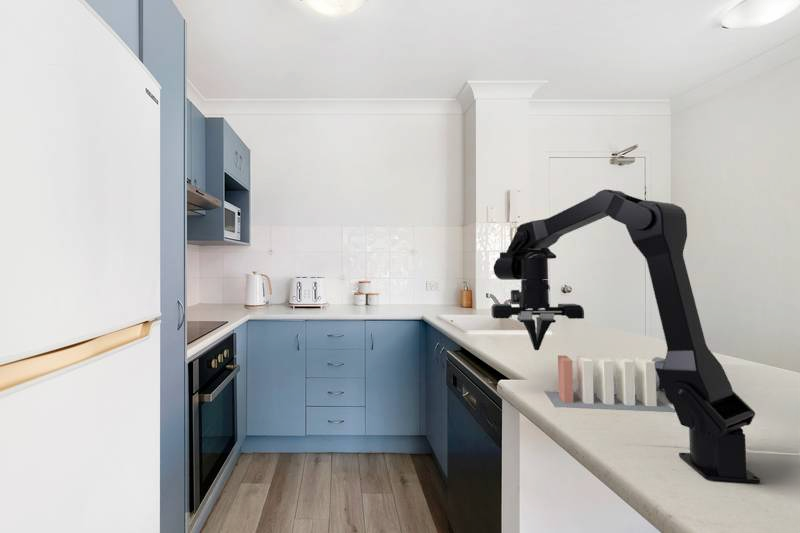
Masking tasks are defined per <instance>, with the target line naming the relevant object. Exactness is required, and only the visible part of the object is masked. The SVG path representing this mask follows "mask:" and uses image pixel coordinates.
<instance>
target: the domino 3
mask: <svg viewBox="0 0 800 533" xmlns="http://www.w3.org/2000/svg"><path fill="white" fill-rule="evenodd" d="M595 371H596V372H595V373H596V393H597V397H598V398H599V399H600V400H601V401H602V402H603V403H604V404H610V405H614V394H615V386H614V385H615V383H614V379H615V378H614V361H613V360H611V359H610V358H608V357H607V356H600V355H598V356H595Z"/></svg>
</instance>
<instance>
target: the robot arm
mask: <svg viewBox="0 0 800 533" xmlns="http://www.w3.org/2000/svg"><path fill="white" fill-rule="evenodd" d="M606 217H610V218H611V219H612V220H614V221H616V222H619V223H620V224H624V225H625V227H626V231H627V232H628V234H629V237H630V239H631V241H632V243H633V244H634V246H635V248H636V249H637V250H638V251H639V252H640V253H641V254H642V256H643V258H645V260H646V265H647V268H648V273H649V276H650V281H651V285H652V288H653V294H654V297H655V298H654V299H655V302H656V305H657V310H658V314H659V318H660V323H661V326H662V331H663V334H664V339H665V343H666V348H667V350H666V355H665V358H664V359H665V360H663V361H658V362H655V369H656V372H657V374H658V377H659V390H658V391H660V390H663V389H664V391H663V394H664V396H665V398H666V400H667V402H668V403H670V404H671V405H673V406H672V407H673V409H675V411H676V412H675V413H676V416H677V419H678V421H679V424H680V425H681V426H683V427H686V428H688V432H689V451H690V452H679V453H678V456H679V458H680V459H682V460H683V461H684V462H685V463H686V464H687V465H689V466H690V467H691V468H692V469H694V470H695V471H696V472H697V473H698V474H700V475H701V476H702V477H703V478H705V479H706V480H713V481H724V482H725V481H727V482H737V483H738V482H742V483H753V484H754V483H756V484H760V483H761V478H760V477H758V476H757V475H756V474H754V473H753V472H751V471H750V470H748V469H747V451H746V450H747V449H746V448H747V447H746V434H745V433H744V430H743V427H746V426H750V425H751V424H752V422H753V420H754V418H755V416H756V412H755V411H754V409H752V408H751V407H750V406H749V404H747V402H745V400H743V399H742V398H741V397H740V396H739V395H738V394H737V393H735V391H734V390H733V388H732V383H731V382H730V380H729V378H728V375H727V373H726V372H725V369H724V367H723V365H722V364H721V362H720V361H719V360H718V359H717V358H716V356H715V355H714V354H713V352H712V351H711V350H710V349H709V348H708V345H707V343H706V338H705V335H704V331H703V328H702V323H701V320H700V316H699V312H698V311H699V310H698V308H697V304H696V301H695V296H694V293H693V289H692V285H691V282H690V277H689V274H688V269H687V266H686V261H685V258H684V250H685V246H686V242H687V238H688V223H687V214H686V212H685V210H684V208H682V207H680V206H678V205H676V204H674V203H669V202H662V201H655V200H644V199H641V198H638V197H634V196H633V195H632V196H631V195H628V194H627V193H625V192H623V191H621V190H619V191H618V190H613V189H603V190H602V189H601V190H599V191H597V192H596V193H595V195H592V196H591V197H588V198H586V199H585V200H582V201H580V202H579V203H576V204H574V205H572V206H570V207H567V209H563V210H562V211H560V212H558V213H556V214H554V215H552V216H550V217H548V218H544V219H543V218H542V219H537V220H532V221H529V222H523V223H521V224H520V225H518V227H517V228H516V232H515V234H514V235H513V238H512V239H511V242H510V244H509V246H508V248H507V250H506V251H504V252H503V251H502V252H499V257H498V258H497V259H496V260H495V262H494V265H493V273H494V275H495V277H496V278H498V279H499V280H502V281H503V280H506V281H509V280H511V281H513V280H516V281H520V284H521V286H520V289H521V290H520V289H512V290H510V303H511V304H510V303H493V304H492V306H491V317H492V318H493V319H510V318H511V317H512V316H517V317H516V320H517V321H518V322H520V323H523V326H524V327H525V329H526V331H527V333H528V336H529V339H530V342H531V345H532V348H533V350H534V351H540V348H541V345H542V343H543V340H544V339H545V336H546V333H547V331H548V329H549V328H550V327H551V324H552V323H557V322H556V320H557V319H555V318H554V317H555V316H563V317H566V318H568V319H570V320H573V319H574V320H578V319H579V320H580V319H581V320H582V319H585V311H584V307H583V306H582V305H581V304H577V303H558V304H557V306H551V304H550V297H549V296H550V291H549V290H550V284H549V262H548V260H552V259H554V260H555V259H556V258H557V255H556V254H555V253H554V252H552V251H551V249H550V247H551V246H553V245H555V244H556V243H557V242H558V240H560V238H561V237H563V236H565V235H566V234H569V233H571V232H573V231H576V230H579V229H580V228H582V227H585V226H588V225H590V224H592V223H595V222H597V221H599V220H601V219H604V218H606ZM512 305H519V306H512ZM533 316H536V317H535V318H536V320H535V319H533Z"/></svg>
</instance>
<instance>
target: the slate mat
mask: <svg viewBox="0 0 800 533" xmlns="http://www.w3.org/2000/svg"><path fill="white" fill-rule="evenodd" d="M543 392H544V393H545V395H546V396H547V398H548V399H549V401H550V402H551V404H552V405H553V407H555V408H565V409H566V408H567V409H568V408H570V409H573V408H574V409H590V410H592V409H593V410H613V411H635V412H655V413H656V412H657V413H676V411H675V409H674V407H671V406H670V405H669V404H667V403H665V402H663V401H662V400H660V399H659V398H657V397H656V402H657V406H646V405H645V404H643V403H642V402H641V401H639V400H638V399H637V394H635V406H634V405H625V404H624V403H622V402H621V401H620V400H619V399H617V393H614V405H610V404H604V403H603V402H602V401H601V400H600V399H599V398H598V397H597V392H593V397H594V404H587V403H584V402H583V401H582V400H581V399H580V398H579V397H578V391H577V392H575V391H573V403H564V401H563V400H562V399H561V398H560V396H559V391H550V390H548V391H546V390H544V391H543Z"/></svg>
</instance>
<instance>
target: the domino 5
mask: <svg viewBox="0 0 800 533" xmlns="http://www.w3.org/2000/svg"><path fill="white" fill-rule="evenodd" d="M634 360H635V361H634V363H635V388H636V389H635V390H636V391H635V395H637V399H638V400H639V401H641V402H642V403H643V404H645V405H646V406H657V402H656V398H657V390H656V371H655V362H653V361H652V359H649V358H646V357H643V356H642V357H640V356H639V357H638V356H637V357H635V359H634Z"/></svg>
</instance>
